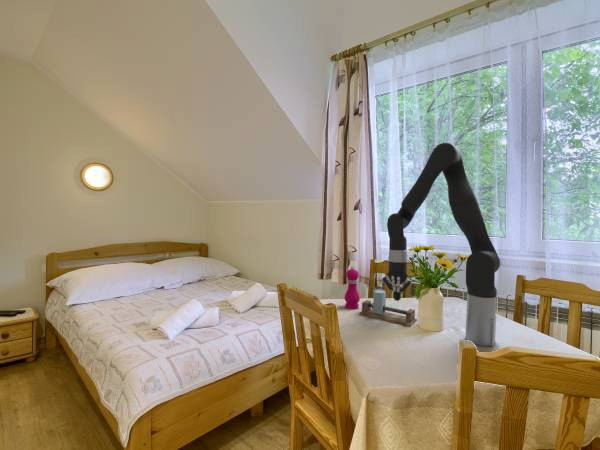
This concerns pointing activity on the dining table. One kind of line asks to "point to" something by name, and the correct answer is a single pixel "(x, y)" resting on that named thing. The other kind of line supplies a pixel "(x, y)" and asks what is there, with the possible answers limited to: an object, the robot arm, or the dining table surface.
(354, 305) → the pepper mill
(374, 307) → the sleeve
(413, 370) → the dining table surface
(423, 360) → the dining table surface
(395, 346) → the dining table surface
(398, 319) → the rail
